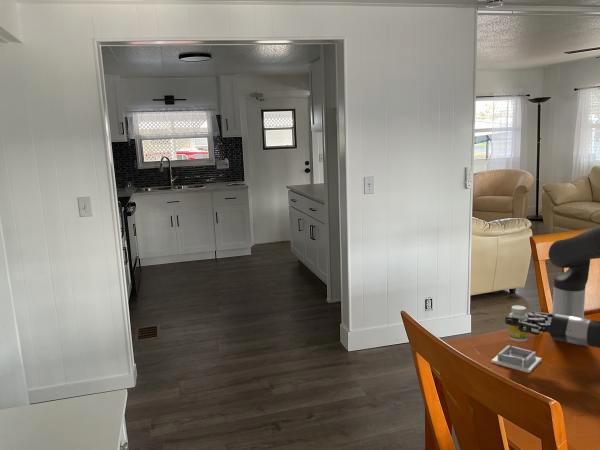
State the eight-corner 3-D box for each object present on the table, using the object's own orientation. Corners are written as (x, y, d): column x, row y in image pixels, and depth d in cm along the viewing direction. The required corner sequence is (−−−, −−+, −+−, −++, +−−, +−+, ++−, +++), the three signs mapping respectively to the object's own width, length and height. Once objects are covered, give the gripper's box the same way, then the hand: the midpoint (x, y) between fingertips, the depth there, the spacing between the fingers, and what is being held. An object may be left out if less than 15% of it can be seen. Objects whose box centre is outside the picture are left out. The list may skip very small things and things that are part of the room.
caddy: (504, 351, 157) (504, 342, 157) (541, 360, 150) (541, 351, 149) (491, 362, 150) (491, 353, 149) (529, 373, 142) (529, 363, 142)
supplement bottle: (515, 333, 152) (516, 303, 151) (531, 338, 148) (532, 307, 146) (504, 337, 149) (505, 307, 148) (521, 343, 145) (521, 311, 143)
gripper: (579, 309, 142) (518, 299, 154) (564, 323, 132) (500, 311, 143) (578, 334, 143) (517, 322, 155) (563, 350, 133) (500, 336, 145)
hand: (509, 317), depth 149 cm, fingers closed on supplement bottle, 5 cm apart
